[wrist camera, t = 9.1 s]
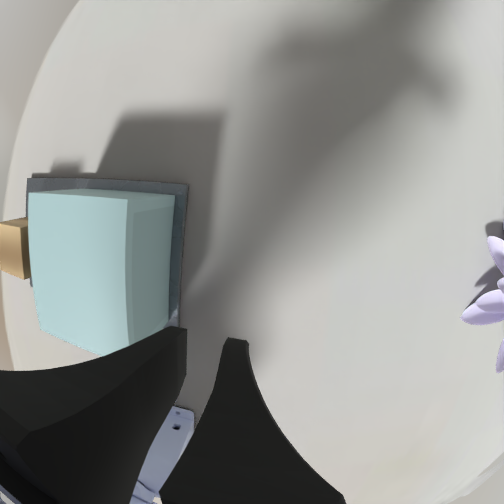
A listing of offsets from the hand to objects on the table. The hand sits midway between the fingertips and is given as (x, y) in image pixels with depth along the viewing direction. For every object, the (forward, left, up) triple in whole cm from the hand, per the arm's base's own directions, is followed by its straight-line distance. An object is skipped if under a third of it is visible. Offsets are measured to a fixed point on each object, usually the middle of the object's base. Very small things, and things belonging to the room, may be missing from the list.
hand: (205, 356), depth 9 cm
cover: (+9, 0, -10) cm, 14 cm away
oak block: (+18, 0, -10) cm, 21 cm away
